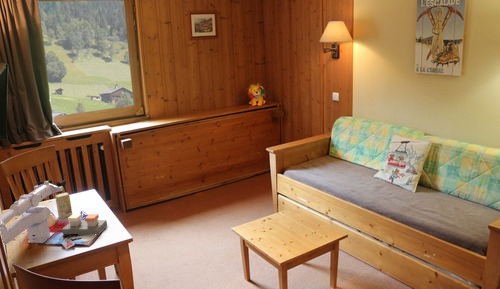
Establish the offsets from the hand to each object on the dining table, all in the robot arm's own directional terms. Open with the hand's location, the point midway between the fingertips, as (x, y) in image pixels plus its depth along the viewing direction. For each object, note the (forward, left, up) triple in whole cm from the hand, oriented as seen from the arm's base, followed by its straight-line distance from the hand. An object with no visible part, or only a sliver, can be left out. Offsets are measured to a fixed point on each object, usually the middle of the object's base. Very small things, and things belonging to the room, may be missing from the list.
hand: (58, 182), depth 218 cm
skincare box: (+5, +3, -21) cm, 22 cm away
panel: (-11, -17, -21) cm, 30 cm away
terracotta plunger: (-11, -22, -18) cm, 31 cm away
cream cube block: (-11, -13, -18) cm, 25 cm away
